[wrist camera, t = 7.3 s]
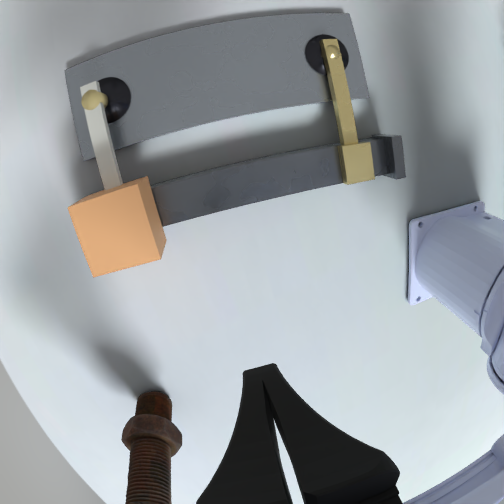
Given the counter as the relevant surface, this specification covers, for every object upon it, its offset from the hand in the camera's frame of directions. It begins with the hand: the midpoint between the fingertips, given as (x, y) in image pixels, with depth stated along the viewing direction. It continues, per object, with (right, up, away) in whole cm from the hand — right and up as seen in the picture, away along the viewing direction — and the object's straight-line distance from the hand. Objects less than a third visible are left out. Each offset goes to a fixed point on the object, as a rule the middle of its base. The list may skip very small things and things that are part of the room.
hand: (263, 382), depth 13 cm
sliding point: (-9, +11, +5) cm, 14 cm away
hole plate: (-3, +17, +4) cm, 17 cm away
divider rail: (-2, +13, +6) cm, 14 cm away
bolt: (-9, -8, +13) cm, 18 cm away
